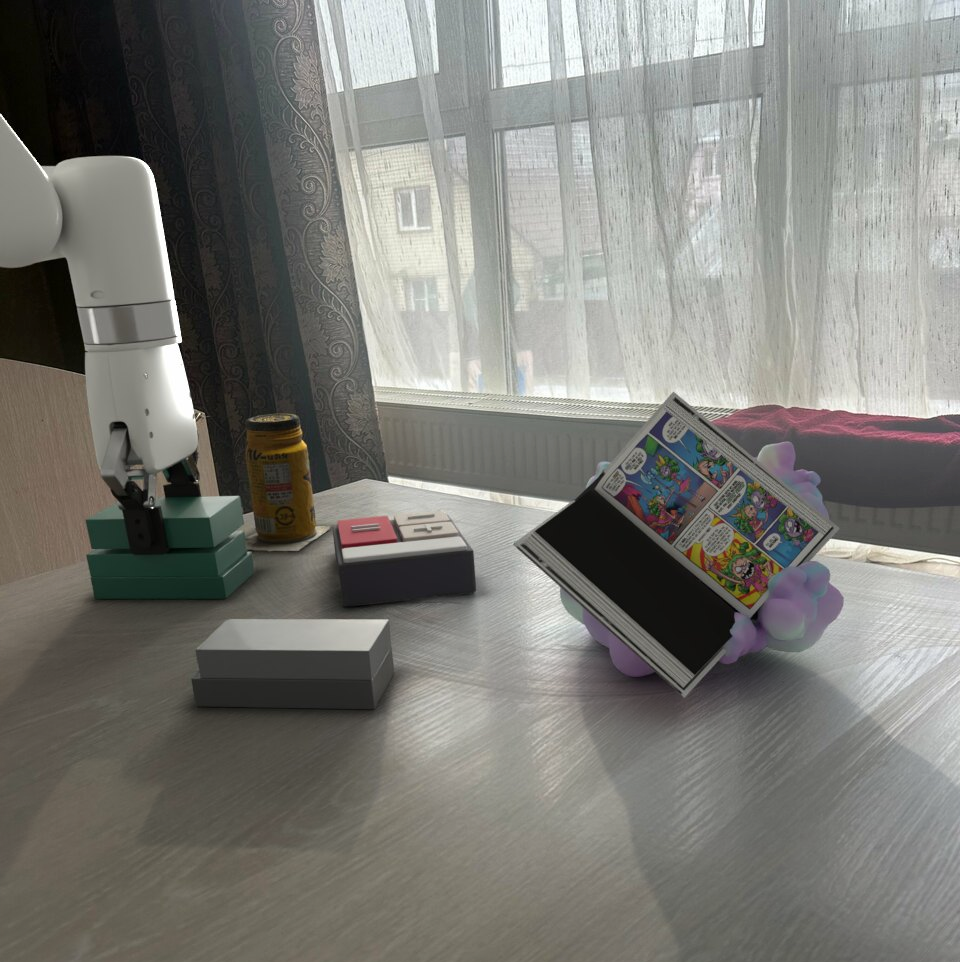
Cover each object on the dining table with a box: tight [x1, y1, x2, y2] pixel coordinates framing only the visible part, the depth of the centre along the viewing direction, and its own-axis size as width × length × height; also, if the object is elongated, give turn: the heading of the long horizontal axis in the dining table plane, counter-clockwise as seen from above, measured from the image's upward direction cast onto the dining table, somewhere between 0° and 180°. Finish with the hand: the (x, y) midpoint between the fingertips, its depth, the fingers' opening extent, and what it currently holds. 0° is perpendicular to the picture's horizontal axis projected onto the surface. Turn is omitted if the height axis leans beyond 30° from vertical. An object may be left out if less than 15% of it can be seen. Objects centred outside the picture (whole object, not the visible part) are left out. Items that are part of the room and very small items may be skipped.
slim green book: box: [84, 495, 245, 550], centre depth 87 cm, size 11×7×3 cm, turn 82°
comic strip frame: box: [512, 391, 845, 698], centre depth 67 cm, size 20×22×18 cm
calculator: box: [331, 509, 477, 607], centre depth 88 cm, size 11×4×15 cm
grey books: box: [190, 618, 395, 710], centre depth 66 cm, size 12×6×4 cm, turn 82°
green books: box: [85, 530, 256, 600], centre depth 88 cm, size 12×7×4 cm, turn 82°
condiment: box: [244, 413, 332, 553], centre depth 98 cm, size 7×8×12 cm
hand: (169, 538), depth 87 cm, fingers closed on slim green book, 7 cm apart
